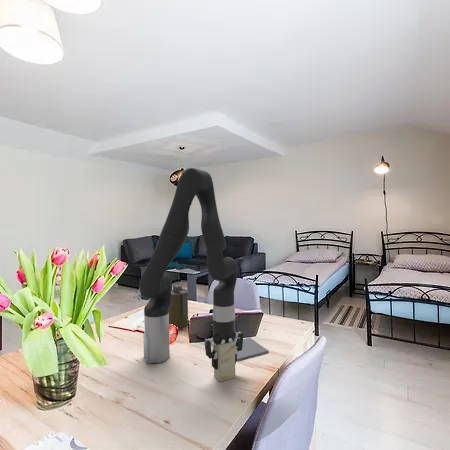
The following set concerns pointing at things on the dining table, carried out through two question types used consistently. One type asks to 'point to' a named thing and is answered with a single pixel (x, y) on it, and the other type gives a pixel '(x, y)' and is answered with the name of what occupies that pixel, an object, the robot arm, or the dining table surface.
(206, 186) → the robot arm
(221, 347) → the skincare box
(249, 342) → the mat
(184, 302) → the canister
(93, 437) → the dining table surface
